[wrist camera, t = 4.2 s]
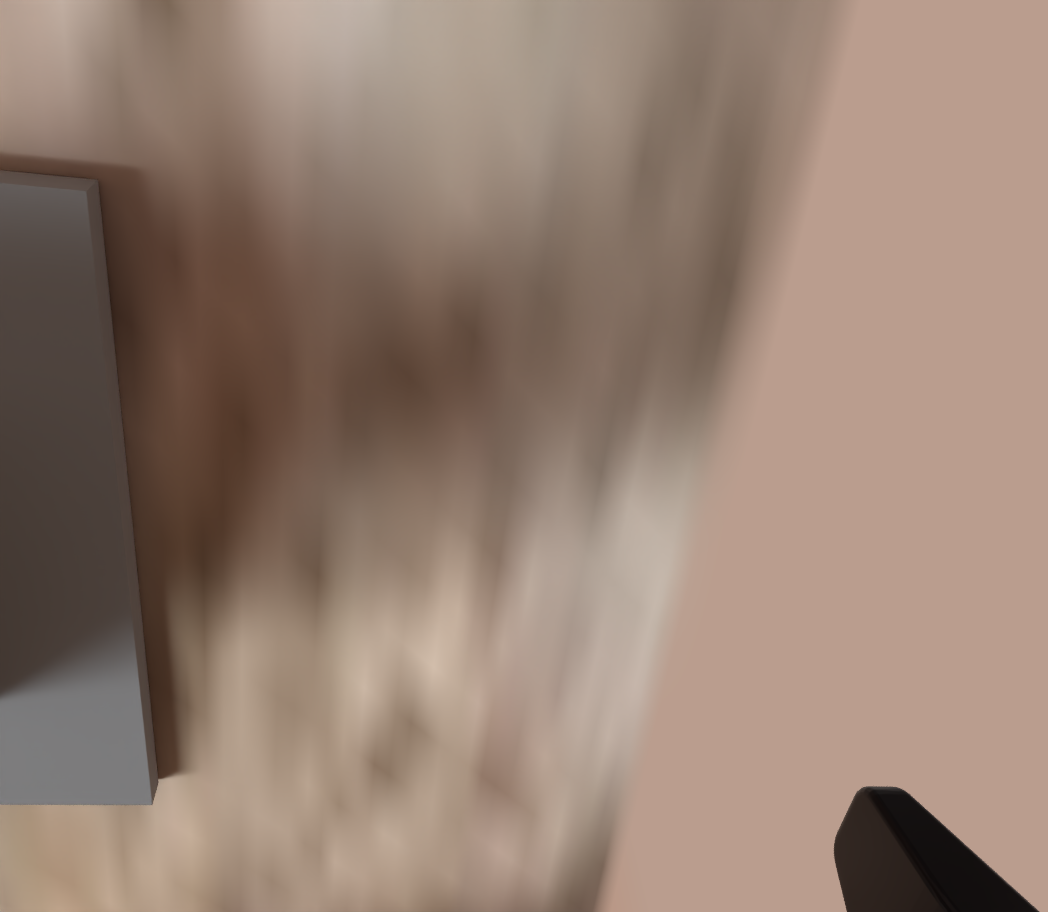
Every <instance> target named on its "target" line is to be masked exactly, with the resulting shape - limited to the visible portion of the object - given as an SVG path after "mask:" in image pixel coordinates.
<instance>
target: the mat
mask: <svg viewBox="0 0 1048 912" xmlns="http://www.w3.org/2000/svg"><path fill="white" fill-rule="evenodd" d="M157 786H158V773H157V763H156V753H155V743H154V733H153V723H152V713H151V703H150V693H149V683H148V673H147V664H146V654H145V644H144V634H143V624H142V614H141V604H140V594H139V584H138V574H137V564H136V554H135V544H134V534H133V524H132V514H131V504H130V494H129V484H128V474H127V464H126V454H125V445H124V435H123V425H122V415H121V405H120V395H119V385H118V375H117V365H116V355H115V345H114V335H113V325H112V315H111V305H110V295H109V285H108V275H107V265H106V255H105V245H104V236H103V226H102V216H101V206H100V196H99V186H98V180H95V179H85V178H75V177H64V176H54V175H44V174H34V173H24V172H14V171H4V170H0V805H152V804H153V800H154V797H155V793H156V790H157Z"/></svg>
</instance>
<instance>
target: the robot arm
mask: <svg viewBox="0 0 1048 912" xmlns="http://www.w3.org/2000/svg"><path fill="white" fill-rule="evenodd" d="M834 857H835V863H836V868H837V872H838V876H839V880H840V885H841V888H842V893H843V897H844V901H845V905H846V910H847V912H1039V911H1038V910H1037V909H1036V908H1035V907H1034V906H1032V905H1031V904H1030V903H1029V902H1028V901H1027V900H1026V899H1025V898H1024V897H1022V896H1021V895H1020V894H1019V893H1018V892H1017V891H1016V890H1015V889H1014V888H1013V887H1011V886H1010V885H1009V884H1008V883H1007V882H1006V881H1005V880H1004V879H1003V878H1002V877H1000V876H999V875H998V874H997V873H996V872H995V871H994V870H993V869H992V868H990V867H989V866H988V865H987V864H986V863H985V862H984V861H982V859H980V858H979V857H978V856H977V855H976V854H975V853H974V852H973V851H972V850H971V849H969V848H968V847H967V846H966V845H965V844H964V843H963V842H962V841H961V840H960V839H958V838H957V837H956V836H955V835H954V834H953V833H952V832H951V831H950V830H948V829H947V828H946V827H945V826H944V825H943V824H942V823H941V822H940V821H938V820H937V819H936V818H935V817H934V816H933V815H932V814H931V813H930V812H928V811H927V810H926V809H925V808H924V807H923V806H922V805H921V804H920V803H919V802H917V801H916V800H915V799H914V798H913V797H912V796H911V795H910V794H908V793H907V792H906V791H904V790H902V789H900V788H897V787H863V788H861V789H860V790H859V791H857V793H856V795H855V796H854V799H853V801H852V803H851V805H850V807H849V809H848V811H847V813H846V815H845V818H844V820H843V822H842V824H841V826H840V828H839V830H838V832H837V835H836V838H835V843H834Z"/></svg>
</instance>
